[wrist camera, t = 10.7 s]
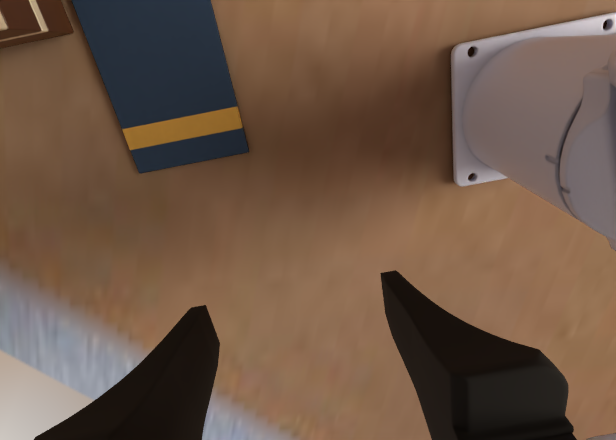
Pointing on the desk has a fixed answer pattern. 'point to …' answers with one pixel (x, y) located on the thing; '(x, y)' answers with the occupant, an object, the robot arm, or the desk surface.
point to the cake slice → (31, 21)
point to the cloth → (165, 79)
